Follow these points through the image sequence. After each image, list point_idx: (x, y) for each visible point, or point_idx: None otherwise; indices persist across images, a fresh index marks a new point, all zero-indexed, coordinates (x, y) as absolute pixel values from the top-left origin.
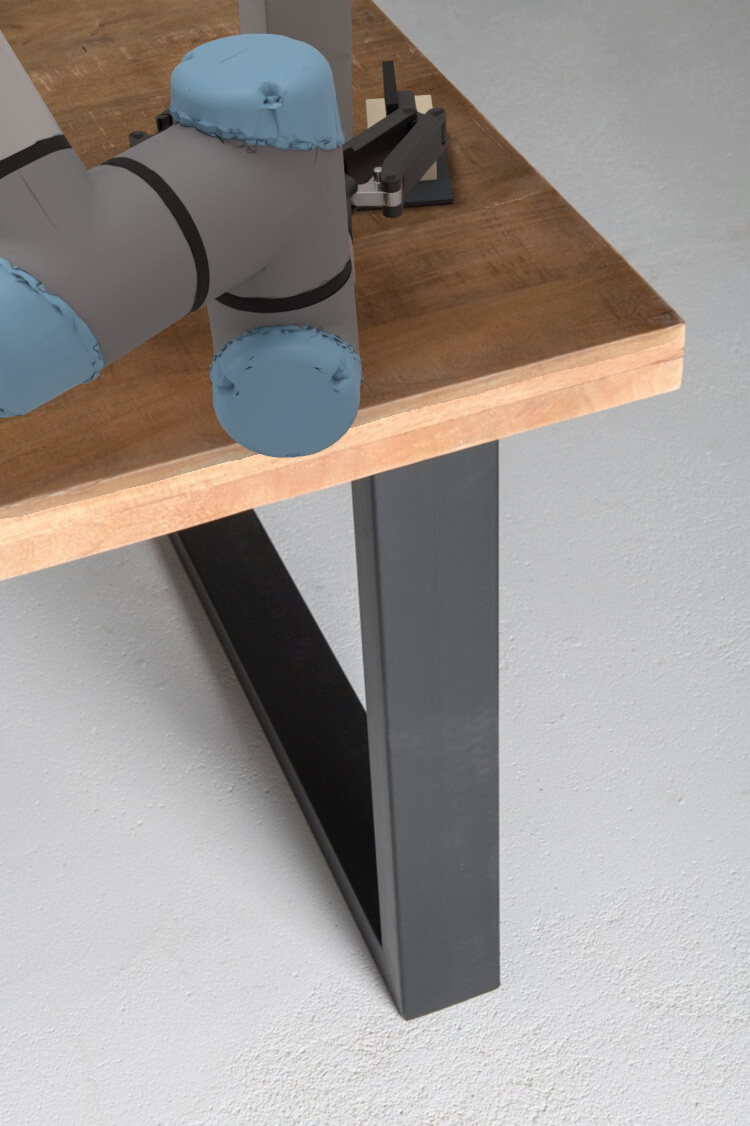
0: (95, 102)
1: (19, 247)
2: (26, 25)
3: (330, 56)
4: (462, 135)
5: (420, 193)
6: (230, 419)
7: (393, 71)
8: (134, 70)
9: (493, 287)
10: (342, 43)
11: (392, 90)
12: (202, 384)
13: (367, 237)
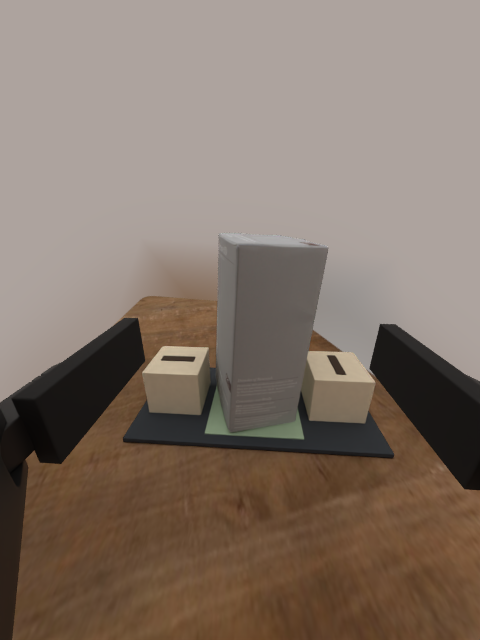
0: (149, 331)
1: None
2: (146, 300)
3: (296, 315)
4: None
5: (357, 440)
6: None
7: (415, 339)
8: (176, 319)
9: None
10: (309, 304)
11: (459, 377)
12: None
13: (321, 507)
